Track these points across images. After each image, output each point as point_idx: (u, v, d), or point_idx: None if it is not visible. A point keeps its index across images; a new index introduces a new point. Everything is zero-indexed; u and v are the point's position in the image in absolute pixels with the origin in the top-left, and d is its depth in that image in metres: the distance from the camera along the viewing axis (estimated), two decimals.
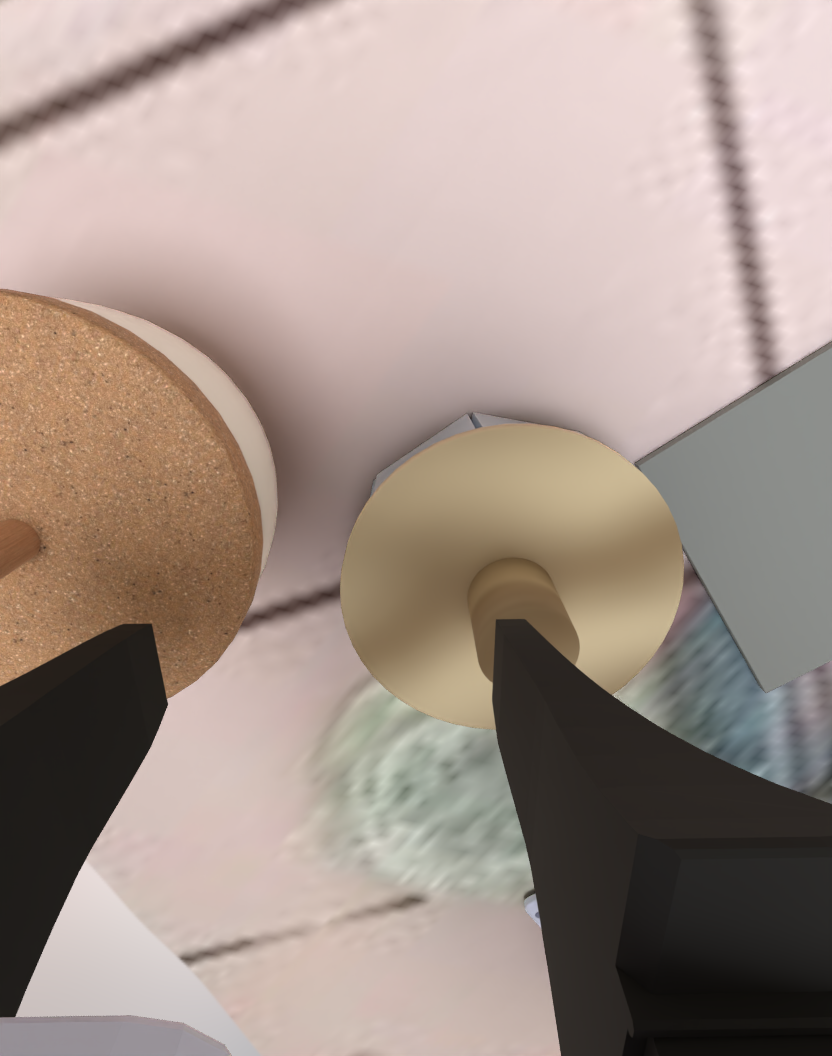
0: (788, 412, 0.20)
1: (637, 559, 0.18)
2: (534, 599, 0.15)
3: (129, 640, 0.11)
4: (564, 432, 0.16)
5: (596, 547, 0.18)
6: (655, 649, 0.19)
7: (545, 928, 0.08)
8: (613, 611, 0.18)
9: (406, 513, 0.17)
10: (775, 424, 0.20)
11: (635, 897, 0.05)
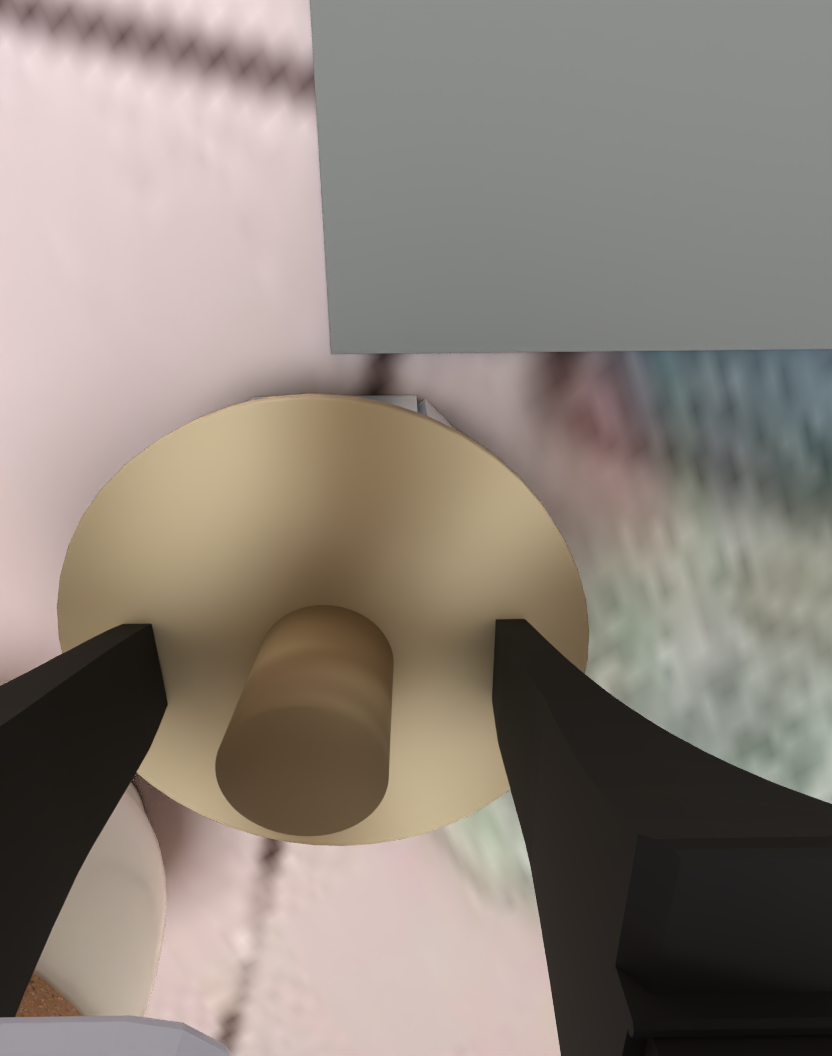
0: (377, 81, 0.11)
1: (372, 483, 0.10)
2: (236, 714, 0.09)
3: (129, 640, 0.11)
4: (110, 481, 0.10)
5: (315, 528, 0.11)
6: (553, 531, 0.11)
7: (545, 928, 0.08)
8: (442, 555, 0.11)
9: None
10: (385, 113, 0.11)
11: (635, 897, 0.05)
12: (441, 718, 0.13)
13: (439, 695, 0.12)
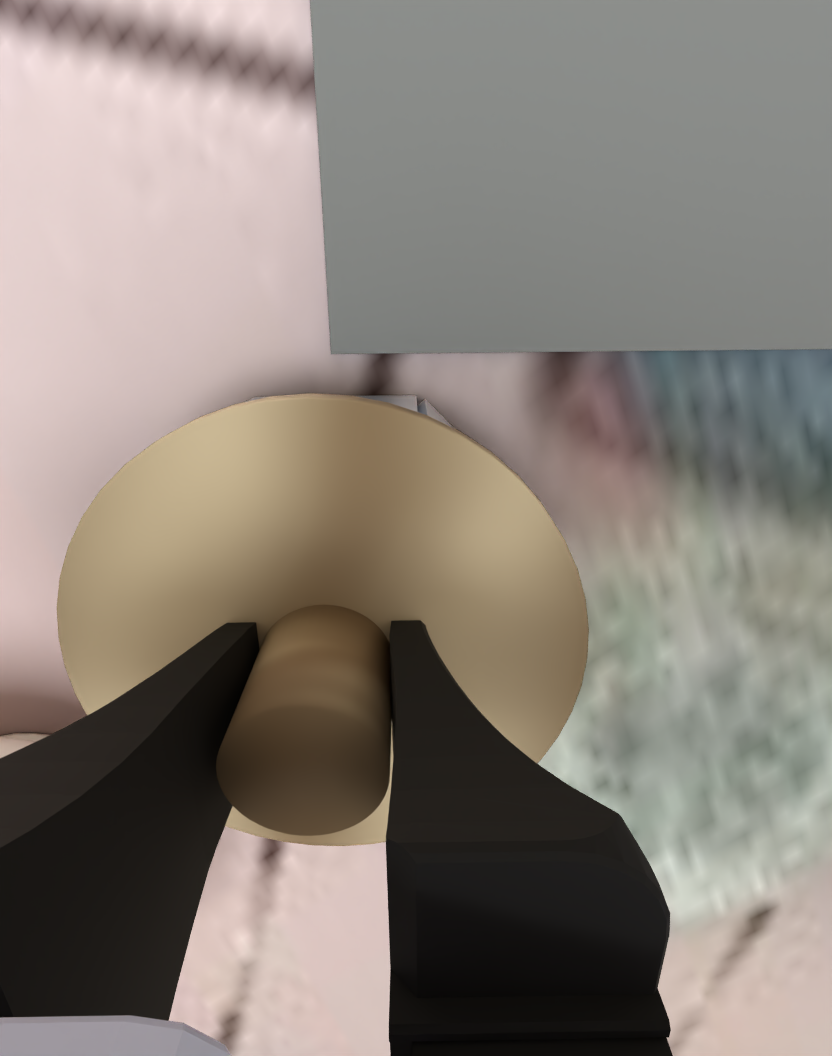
0: (377, 81, 0.11)
1: (372, 483, 0.10)
2: (237, 713, 0.09)
3: (242, 639, 0.11)
4: (110, 481, 0.10)
5: (316, 528, 0.11)
6: (553, 530, 0.11)
7: None
8: (442, 554, 0.11)
9: None
10: (385, 113, 0.11)
11: (393, 901, 0.05)
12: None
13: None
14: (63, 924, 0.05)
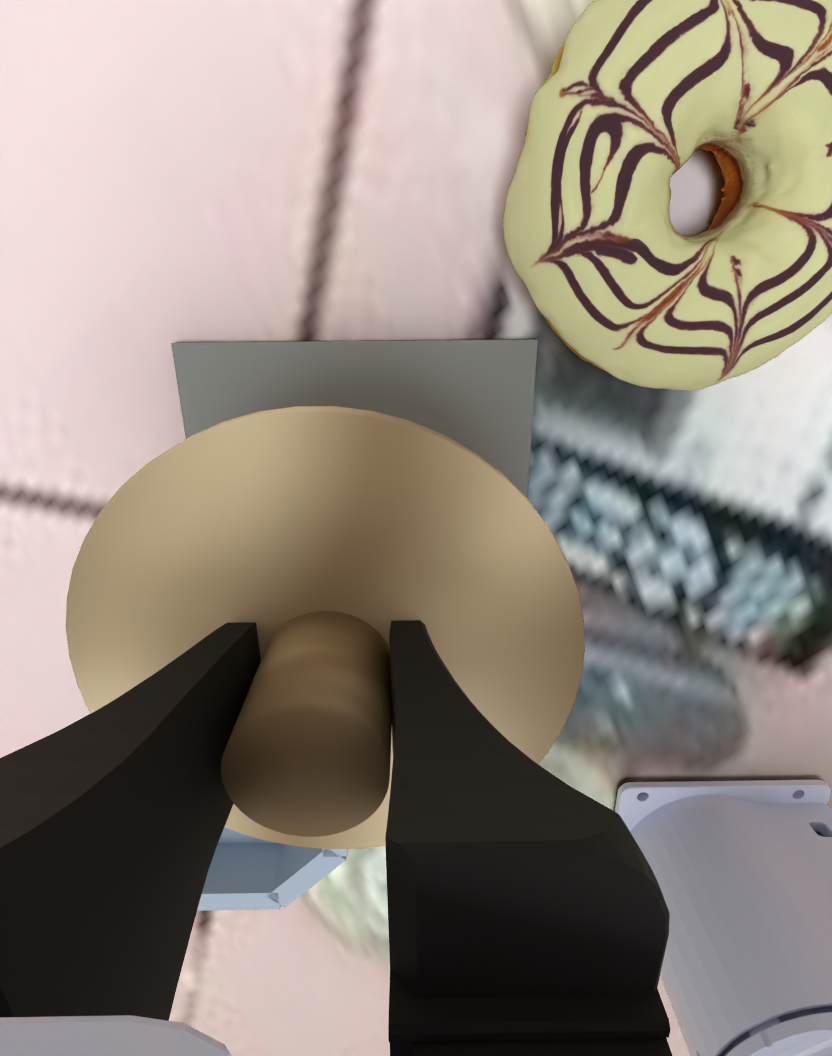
0: None
1: (387, 496, 0.11)
2: (244, 712, 0.09)
3: (242, 639, 0.11)
4: (131, 478, 0.11)
5: (329, 536, 0.11)
6: (557, 552, 0.11)
7: None
8: (449, 569, 0.11)
9: None
10: None
11: (393, 900, 0.05)
12: None
13: None
14: (63, 924, 0.05)
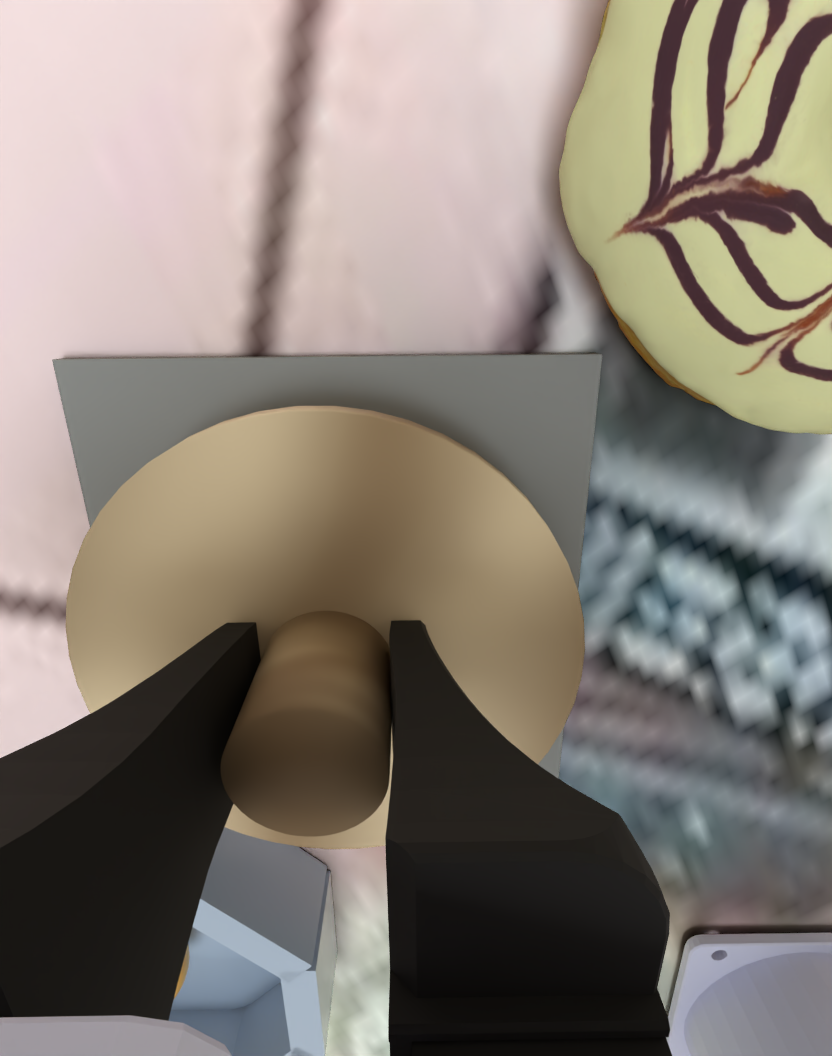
0: None
1: (387, 496, 0.11)
2: (244, 712, 0.09)
3: (242, 639, 0.11)
4: (131, 478, 0.11)
5: (328, 535, 0.11)
6: (557, 552, 0.11)
7: None
8: (448, 569, 0.11)
9: None
10: None
11: (393, 901, 0.05)
12: None
13: None
14: (63, 924, 0.05)
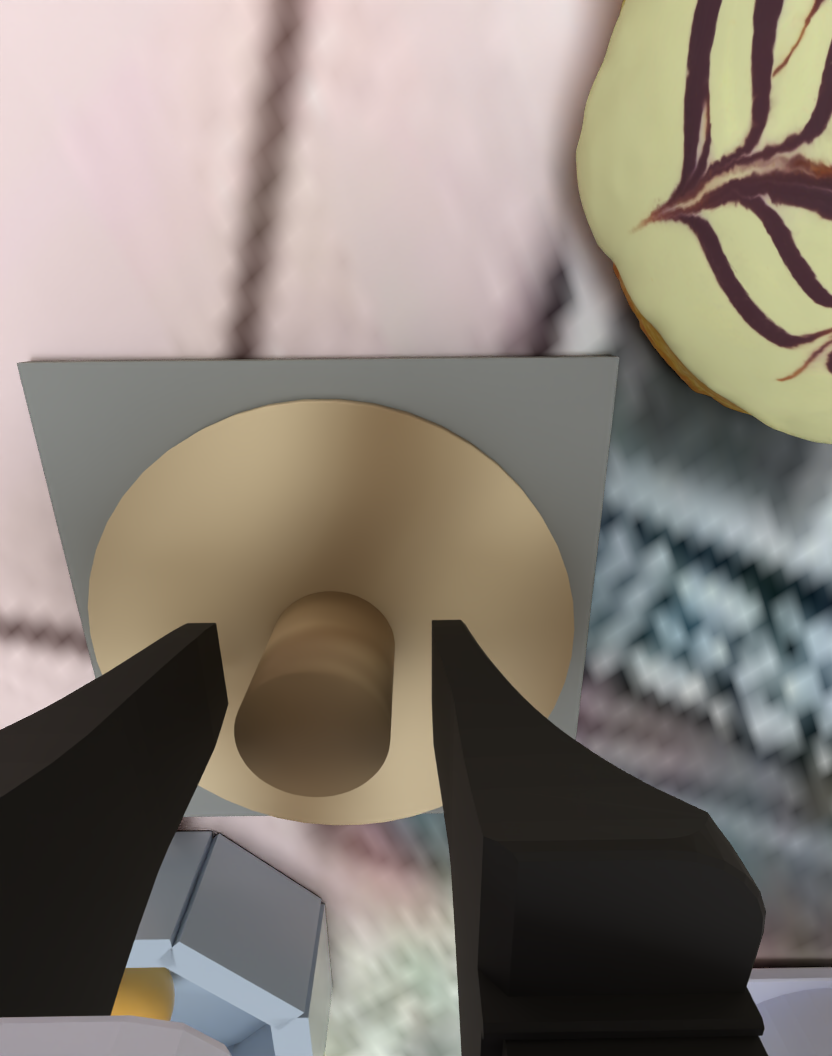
0: None
1: (389, 482, 0.12)
2: (256, 679, 0.10)
3: (199, 639, 0.11)
4: (152, 465, 0.12)
5: (334, 520, 0.12)
6: (547, 535, 0.12)
7: (456, 929, 0.08)
8: (446, 551, 0.12)
9: None
10: None
11: (486, 899, 0.05)
12: None
13: None
14: None
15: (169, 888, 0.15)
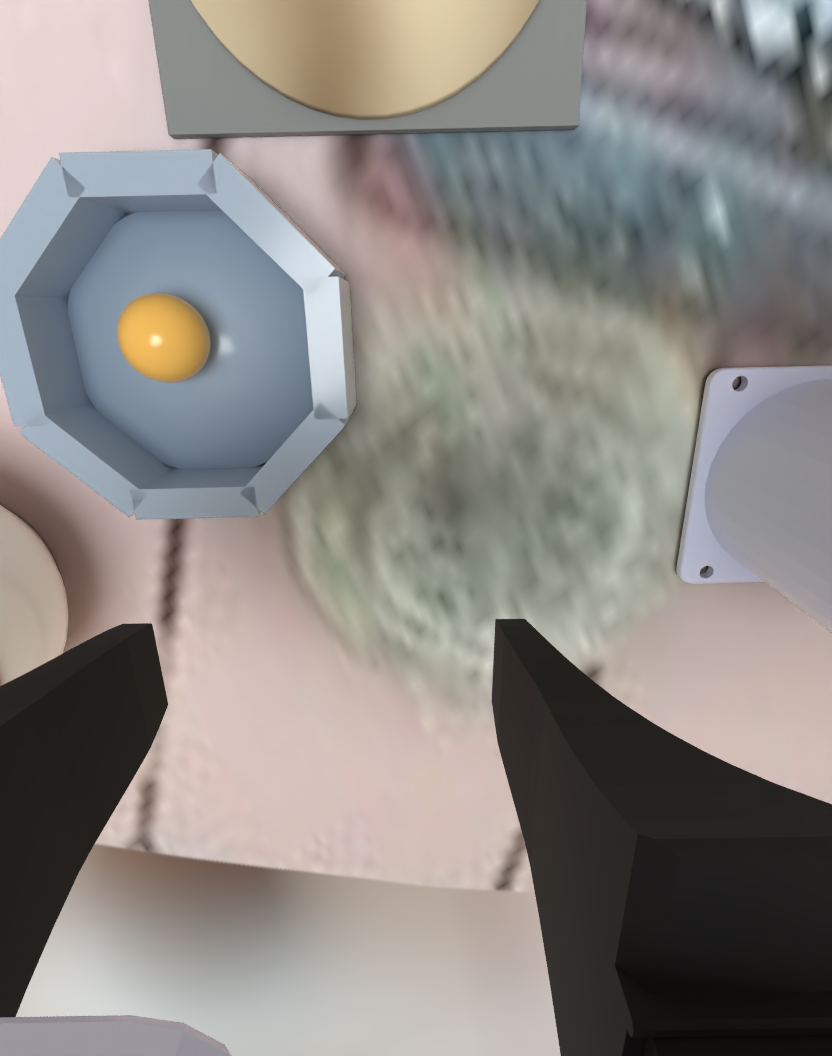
0: None
1: None
2: None
3: (129, 640, 0.11)
4: None
5: None
6: None
7: (545, 928, 0.08)
8: None
9: None
10: None
11: (635, 897, 0.05)
12: None
13: None
14: None
15: None
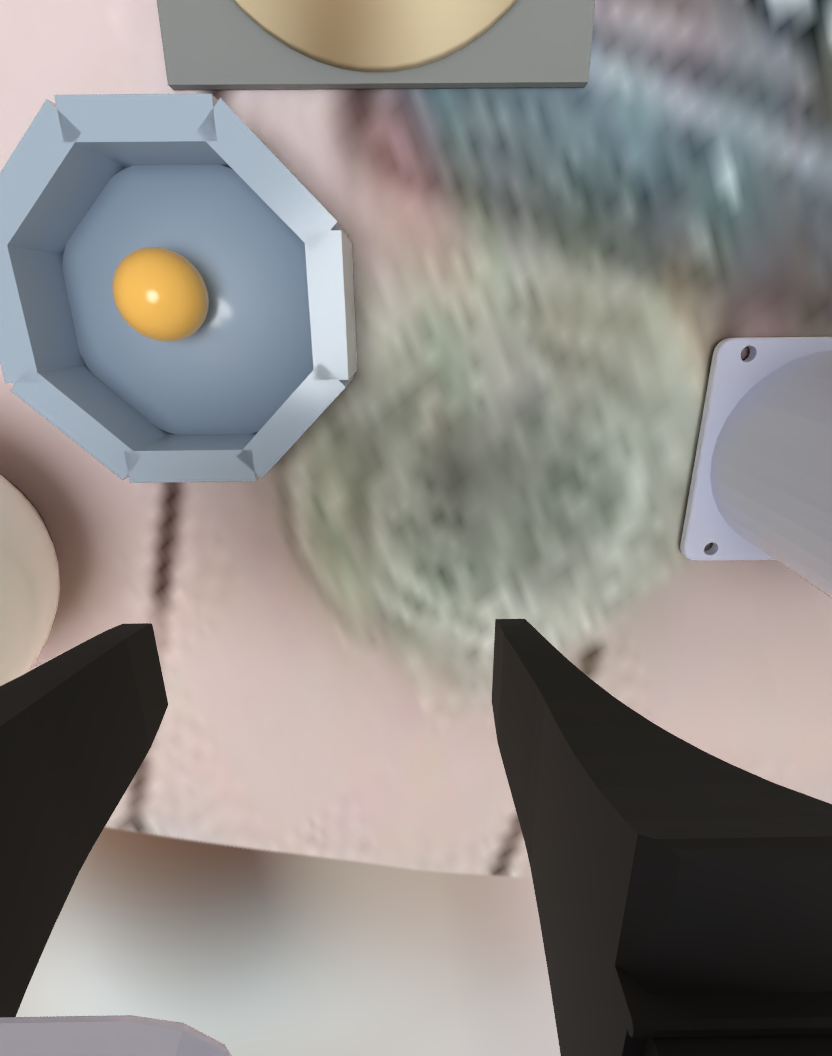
0: None
1: None
2: None
3: (129, 640, 0.11)
4: None
5: None
6: None
7: (545, 928, 0.08)
8: None
9: None
10: None
11: (635, 897, 0.05)
12: None
13: None
14: None
15: None
